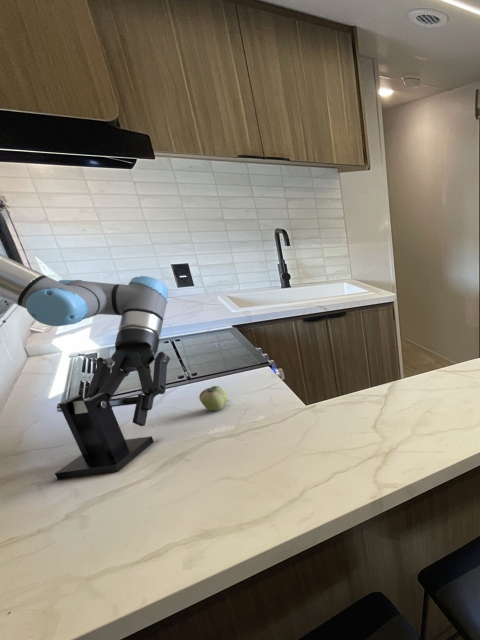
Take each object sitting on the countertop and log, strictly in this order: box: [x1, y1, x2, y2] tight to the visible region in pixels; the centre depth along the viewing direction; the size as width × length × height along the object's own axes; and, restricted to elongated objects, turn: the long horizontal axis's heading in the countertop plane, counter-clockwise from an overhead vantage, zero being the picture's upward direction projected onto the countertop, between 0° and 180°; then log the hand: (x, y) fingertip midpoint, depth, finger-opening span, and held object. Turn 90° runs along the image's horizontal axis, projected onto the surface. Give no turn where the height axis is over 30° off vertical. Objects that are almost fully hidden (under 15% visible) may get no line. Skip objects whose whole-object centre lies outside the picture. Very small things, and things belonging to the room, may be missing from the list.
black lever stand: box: [54, 393, 155, 481], centre depth 80 cm, size 12×10×14 cm
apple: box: [198, 385, 229, 412], centre depth 105 cm, size 6×8×6 cm
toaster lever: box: [73, 395, 138, 414], centre depth 83 cm, size 12×6×2 cm, turn 11°
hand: (119, 426), depth 86 cm, fingers closed on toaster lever, 6 cm apart
